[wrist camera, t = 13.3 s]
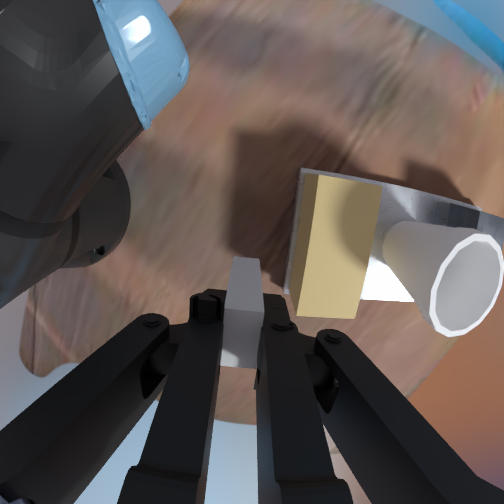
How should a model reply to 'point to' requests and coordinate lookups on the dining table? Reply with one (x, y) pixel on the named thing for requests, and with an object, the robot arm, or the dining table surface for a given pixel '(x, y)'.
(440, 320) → the foam cup
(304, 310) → the block
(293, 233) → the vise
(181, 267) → the dining table surface
